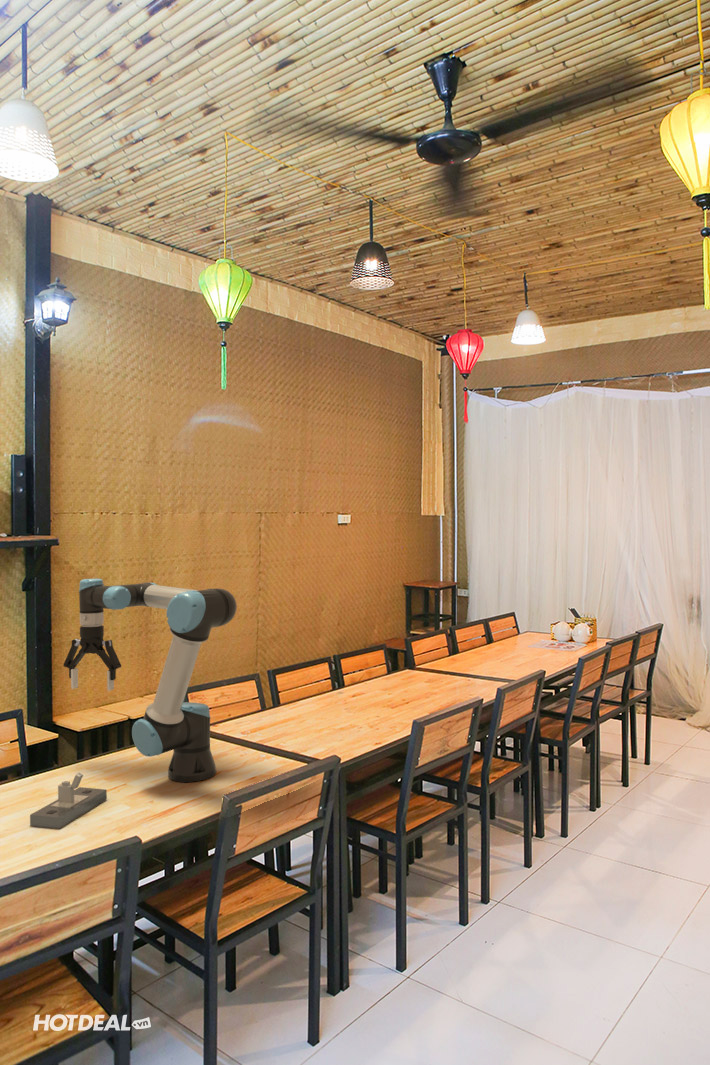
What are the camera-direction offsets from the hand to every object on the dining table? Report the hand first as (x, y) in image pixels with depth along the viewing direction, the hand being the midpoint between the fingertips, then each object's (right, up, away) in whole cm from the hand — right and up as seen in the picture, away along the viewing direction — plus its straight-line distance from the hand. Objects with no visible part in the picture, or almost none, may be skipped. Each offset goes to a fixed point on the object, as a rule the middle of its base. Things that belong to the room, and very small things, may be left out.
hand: (92, 689), depth 247 cm
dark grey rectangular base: (+7, -27, -38) cm, 47 cm away
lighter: (+7, -24, -38) cm, 45 cm away
